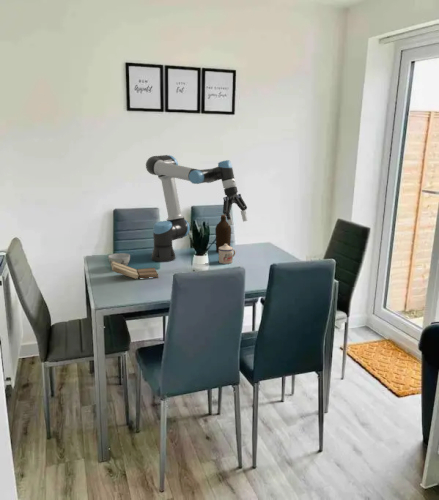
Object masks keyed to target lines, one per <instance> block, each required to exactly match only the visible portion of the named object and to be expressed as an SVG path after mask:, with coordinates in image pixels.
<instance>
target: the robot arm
mask: <svg viewBox="0 0 439 500" xmlns="http://www.w3.org/2000/svg"><path fill="white" fill-rule="evenodd" d="M217 165H218V166H217V167H213V168H206V169H197V168H193V167H188V166H184V165H180V164H179V163H178V160H177V159H176V158H175V156H173V155H170V154H169V155H168V154H165V155H162V154H161V155H154V156H153V155H152V156H151V157H149V158H148V159H147V160H146V163H145V169H146V171H147V173H148V174H150V175H154V176H158V177H157V178H158V179H159V180H160V182H161V185H162V186H161V187H162V191H163V196H164V201H165V207H166V212H167V218H166V220H163V221H158V222H155V223H154V224H153V229H152V235H153V249H152V253H151V260H152V261H154V262H160V263H161V262H162V263H163V262H171V261H174V260H176V254H175V250H174V248H173V241H176V240H179V239H183V238H185V237H187V236H188V234H189V233H190V229H191V228H190V224H189V222H188V221H187V220H186V219H185V216H184V215H182V212H181V211H182V210H181V206H180V200H179V196H178V195H179V194H178V189H177V183H176V179H179V180H184V181H188V182H190V183H191V184H194V185H195V184H196V185H198V184H199V185H200V184H205V183H207V184H210V183H213V182H217V181H219V180H221V182H222V183H221V184H222V187H223V192H224V195H225V196H224V197H222V198H223V206H222V207H223V208H222V215H226V221H227V223H228V224H229V225H230V226H233V225H234V221H233V217H232V213H231V209H232V207H233V204H235V205H237V207H238V208H239V209H240V214H241V219H242V222H243V223H244V222H247V221H248V218H247V212H246V210H247V209H248V206H247V204H246V203H245V201H244V199H243V198H242V194H241V193H238V188H237V183H236V179H235V173H234V169H233V164H232V163H231V161H230V160H228V159H227V160H223V161H219V162H218V163H217Z"/></svg>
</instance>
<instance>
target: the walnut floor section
mask: <svg viewBox="0 0 439 500" xmlns="http://www.w3.org/2000/svg"><path fill="white" fill-rule="evenodd" d="M136 271H137V273H138V275H139V276H138V278H139V277H140V278H149V277H158V278H159V273H158V271H157V270H156V268H155V267H147V268H145V267H144V268H136ZM140 278H139V279H140Z"/></svg>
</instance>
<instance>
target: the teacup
mask: <svg viewBox="0 0 439 500" xmlns="http://www.w3.org/2000/svg"><path fill="white" fill-rule="evenodd" d="M107 257H108V261H109V264H110V265H111V263H112V261H114V262H117V263H120V264H123V265H125V266H128V264H129V263H130V260H131V255H130V253H126V252H122V253H112V254H109V255H108V256H107Z"/></svg>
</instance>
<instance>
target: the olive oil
mask: <svg viewBox="0 0 439 500" xmlns="http://www.w3.org/2000/svg"><path fill="white" fill-rule="evenodd" d="M231 226H232V225H229V223H228V220H227V217H226V215H224V214H220V221H219V222H218V223H217V224H216V226H215V228H214V229H215V247H216V248H215V249H216V250H215V251H216V253H218V254H219V249H218V248H219V247H221V246H223V245H224V244H227V245H228V246H230V247H231V239H232V227H231Z"/></svg>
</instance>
